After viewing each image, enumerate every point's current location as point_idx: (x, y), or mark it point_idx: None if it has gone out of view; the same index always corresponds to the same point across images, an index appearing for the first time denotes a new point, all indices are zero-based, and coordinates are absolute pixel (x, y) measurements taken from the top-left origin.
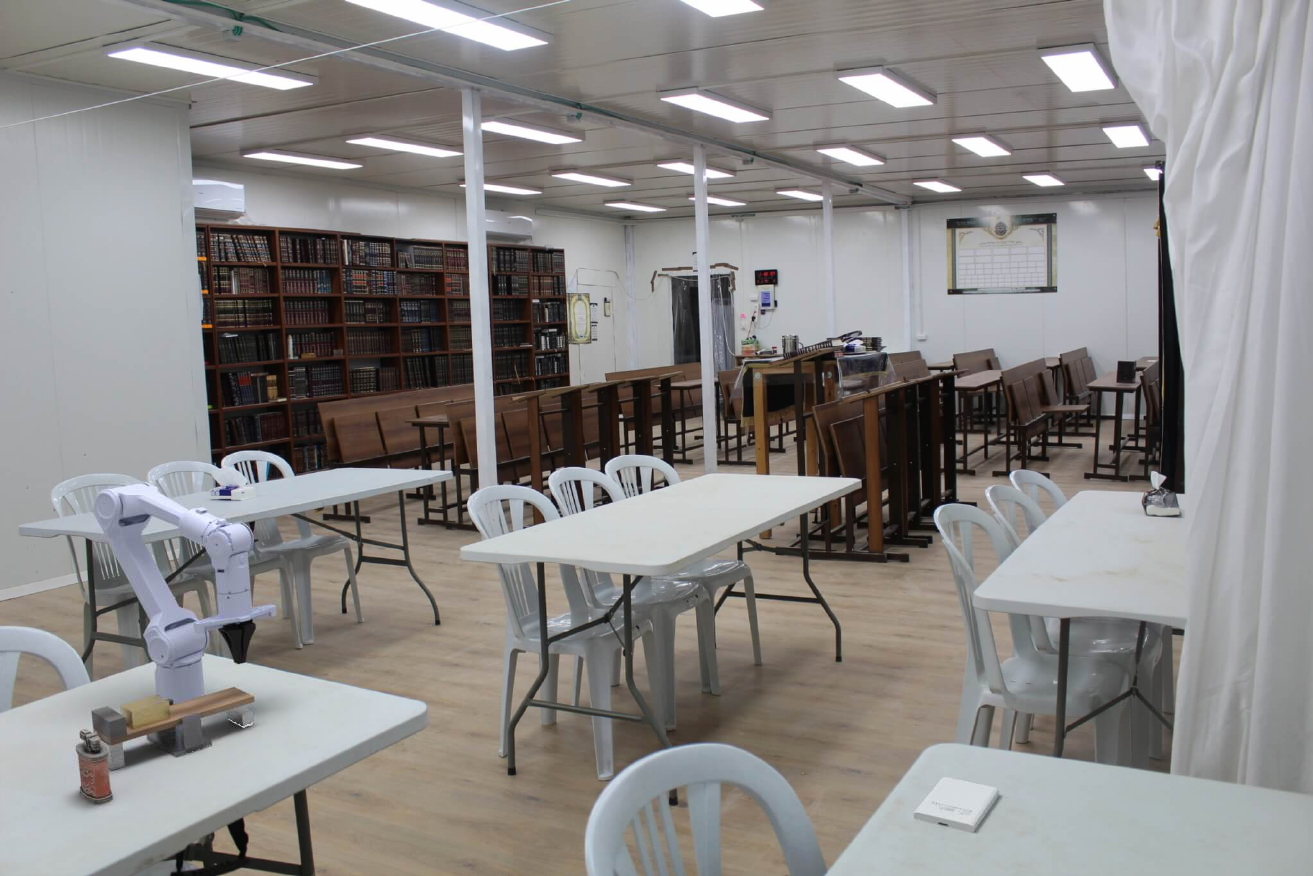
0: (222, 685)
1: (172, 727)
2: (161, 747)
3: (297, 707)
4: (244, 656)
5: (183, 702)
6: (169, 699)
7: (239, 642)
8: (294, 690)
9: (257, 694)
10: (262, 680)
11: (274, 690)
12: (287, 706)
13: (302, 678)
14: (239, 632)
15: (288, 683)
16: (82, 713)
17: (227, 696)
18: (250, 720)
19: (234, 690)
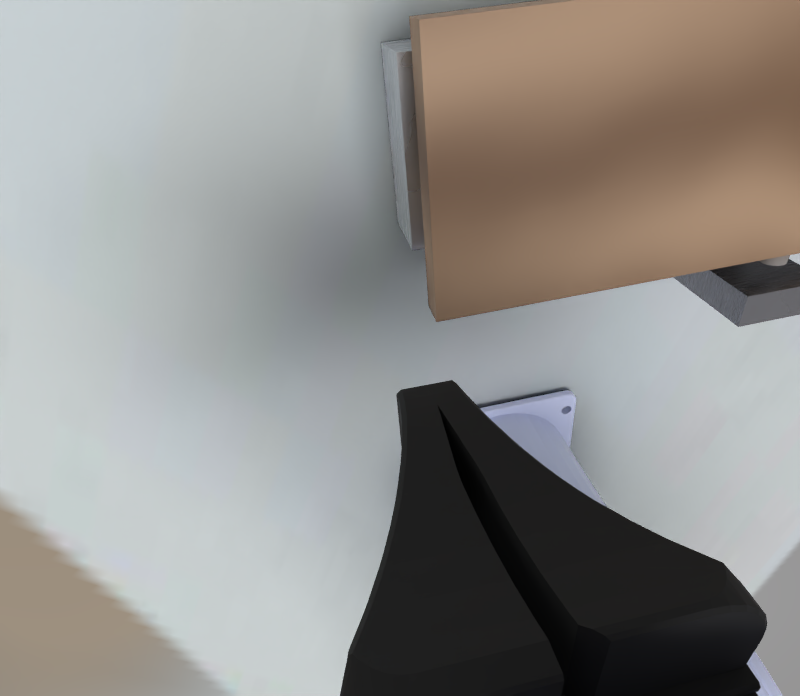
0: (327, 566)
1: None
2: None
3: (95, 149)
4: (422, 414)
5: (717, 256)
6: (750, 314)
7: (521, 505)
8: (79, 398)
9: (245, 437)
10: (192, 552)
11: (169, 443)
12: (148, 207)
13: (25, 507)
14: (606, 597)
15: (96, 485)
16: (681, 541)
17: (539, 174)
18: (405, 44)
19: (461, 257)
